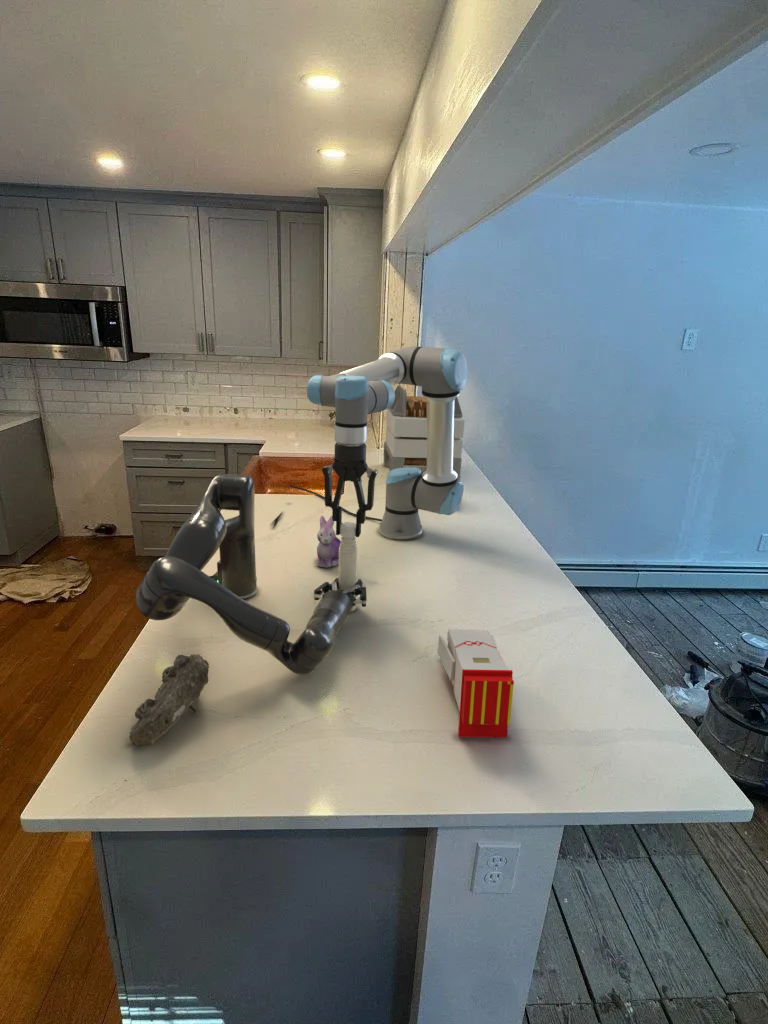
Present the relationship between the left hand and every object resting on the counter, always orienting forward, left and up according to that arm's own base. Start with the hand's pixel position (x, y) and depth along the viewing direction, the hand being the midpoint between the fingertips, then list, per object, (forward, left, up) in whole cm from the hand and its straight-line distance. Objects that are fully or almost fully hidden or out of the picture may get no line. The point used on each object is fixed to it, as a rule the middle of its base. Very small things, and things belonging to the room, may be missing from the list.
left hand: (350, 581), depth 150 cm
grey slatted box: (0, +133, -6) cm, 133 cm away
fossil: (-21, -50, -6) cm, 55 cm away
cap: (0, -3, +17) cm, 17 cm away
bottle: (0, -3, -6) cm, 7 cm away
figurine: (-13, +23, -6) cm, 27 cm away
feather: (-42, +57, -6) cm, 71 cm away
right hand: (0, -3, +15) cm, 15 cm away
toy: (+34, -30, -6) cm, 45 cm away
